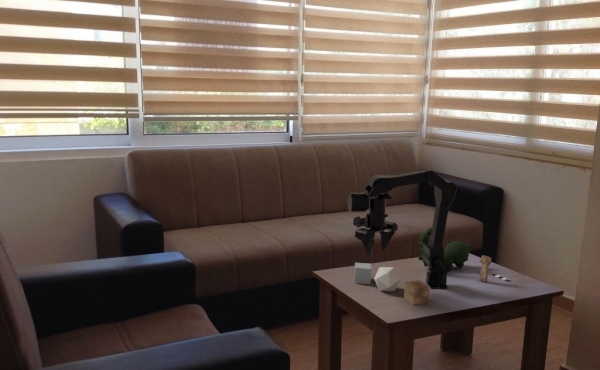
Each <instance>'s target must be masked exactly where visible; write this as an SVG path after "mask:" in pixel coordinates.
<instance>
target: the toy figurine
mask: <svg viewBox="0 0 600 370" xmlns="http://www.w3.org/2000/svg"><path fill="white" fill-rule="evenodd" d="M431 232H432V227H429V228H427V229H426V231H425V233H422V234H420V235H418V239H419V240H420V241H418V242H417V244H418V245H419V246H420V248H418V249H417V251H418V252H419V253H421V255H419V256H418V257H417V259H418V260H419V261H422V263H423V264H422V265H423V266H424V268H425V267H427V268H430V267H429V266H428V265H427V263H426V262H425V261H424V259H423V255H422V252H423V245H424V244H425V245H427V244H428V243H429V242H430V237H431ZM429 236H430V237H429ZM473 247H474V244H465V243H464V242H462V241H459V240H454V241H451V242H449V243H448V244H447V245H446V247H445V249H444V253H445V263H446V264H447V265H448V266H449V267H450V270H453V269H454V266H455V267H456V268H460V269H461V268H463V267H464V265H465V264H464V263H466V262H468V261H469V256H470V250H471V249H473Z"/></svg>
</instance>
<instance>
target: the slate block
mask: <svg viewBox="0 0 600 370" xmlns="http://www.w3.org/2000/svg"><path fill="white" fill-rule="evenodd" d="M353 274H354V276H353V277H354V280H353V281H354V284H364V285H365V284H366V285H371V283H372V263H364V262H354V273H353Z"/></svg>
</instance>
